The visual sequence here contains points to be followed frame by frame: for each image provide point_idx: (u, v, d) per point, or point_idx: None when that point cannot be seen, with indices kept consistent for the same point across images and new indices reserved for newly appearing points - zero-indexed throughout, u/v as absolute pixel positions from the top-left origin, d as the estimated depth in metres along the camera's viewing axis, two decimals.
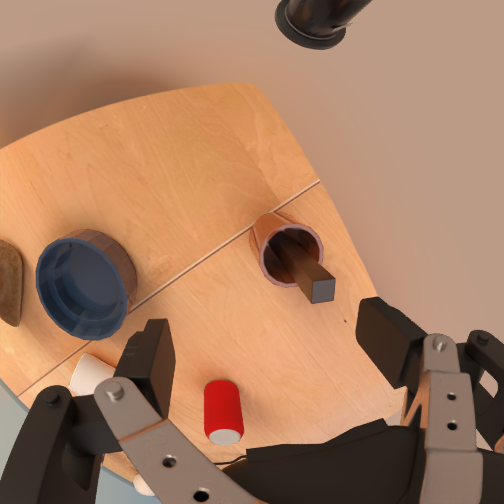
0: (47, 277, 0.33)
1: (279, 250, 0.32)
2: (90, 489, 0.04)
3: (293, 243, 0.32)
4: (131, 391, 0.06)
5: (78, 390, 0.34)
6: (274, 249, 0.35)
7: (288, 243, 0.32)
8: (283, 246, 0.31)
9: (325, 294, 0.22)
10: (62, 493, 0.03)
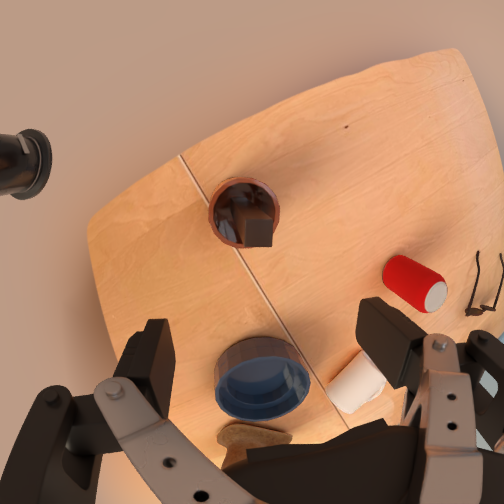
0: (250, 409, 0.44)
1: None
2: (90, 489, 0.04)
3: None
4: (131, 391, 0.06)
5: (354, 407, 0.41)
6: None
7: (233, 210, 0.30)
8: (234, 220, 0.29)
9: (263, 230, 0.19)
10: (62, 493, 0.03)
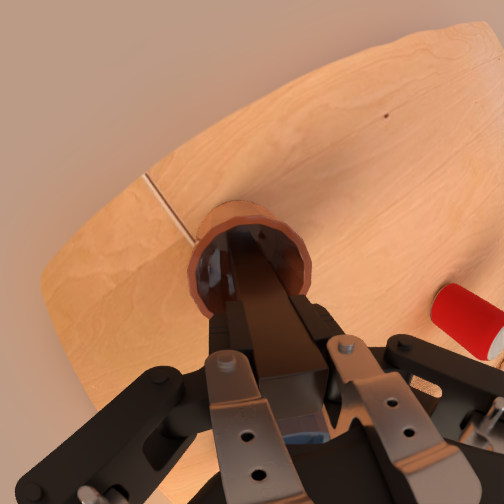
0: None
1: None
2: (162, 471, 0.05)
3: None
4: (244, 360, 0.07)
5: None
6: None
7: (232, 268, 0.18)
8: (234, 288, 0.17)
9: (304, 392, 0.07)
10: (128, 470, 0.04)
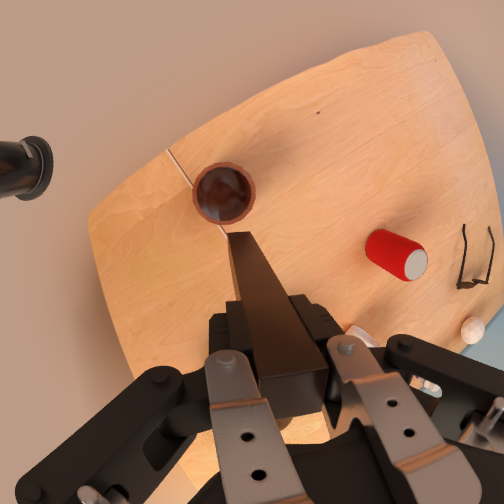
0: None
1: None
2: (162, 471, 0.05)
3: None
4: (244, 360, 0.07)
5: None
6: None
7: (232, 268, 0.18)
8: (234, 287, 0.17)
9: (304, 391, 0.07)
10: (128, 470, 0.04)
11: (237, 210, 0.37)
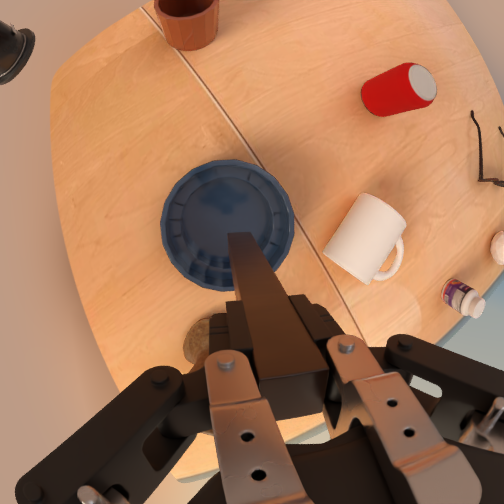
0: (218, 277, 0.35)
1: None
2: (162, 471, 0.05)
3: None
4: (244, 360, 0.07)
5: (367, 267, 0.32)
6: None
7: (232, 268, 0.18)
8: (234, 287, 0.17)
9: (304, 392, 0.07)
10: (128, 470, 0.04)
11: None
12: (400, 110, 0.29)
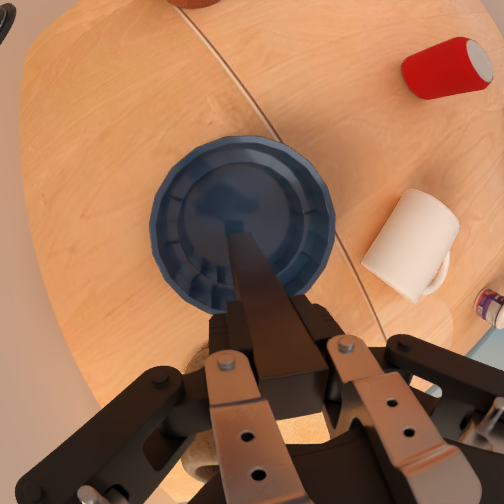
0: (229, 298, 0.26)
1: None
2: (162, 471, 0.05)
3: None
4: (244, 360, 0.07)
5: (419, 283, 0.23)
6: None
7: (232, 268, 0.18)
8: (234, 287, 0.17)
9: (303, 391, 0.07)
10: (128, 470, 0.04)
11: None
12: (452, 91, 0.20)
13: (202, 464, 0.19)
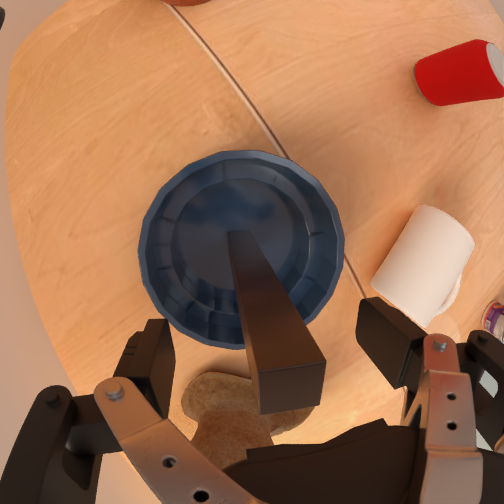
0: (227, 325, 0.24)
1: None
2: (90, 489, 0.04)
3: None
4: (131, 391, 0.06)
5: (431, 308, 0.21)
6: None
7: (232, 266, 0.18)
8: (234, 285, 0.17)
9: (301, 384, 0.07)
10: (62, 493, 0.03)
11: None
12: (468, 98, 0.17)
13: None
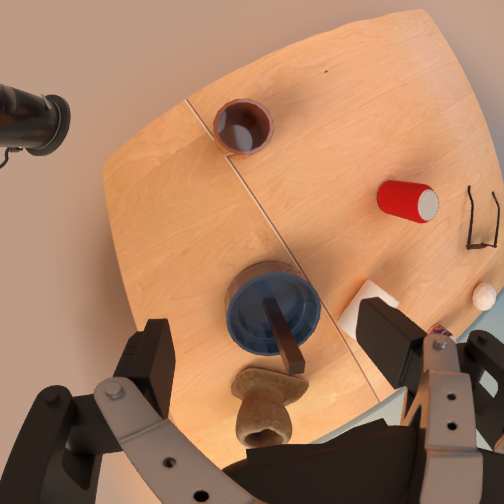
0: (263, 344, 0.47)
1: None
2: (90, 489, 0.04)
3: (270, 319, 0.41)
4: (131, 391, 0.06)
5: None
6: None
7: (270, 322, 0.41)
8: (272, 330, 0.41)
9: (299, 366, 0.30)
10: (62, 493, 0.03)
11: None
12: None
13: (250, 432, 0.40)
